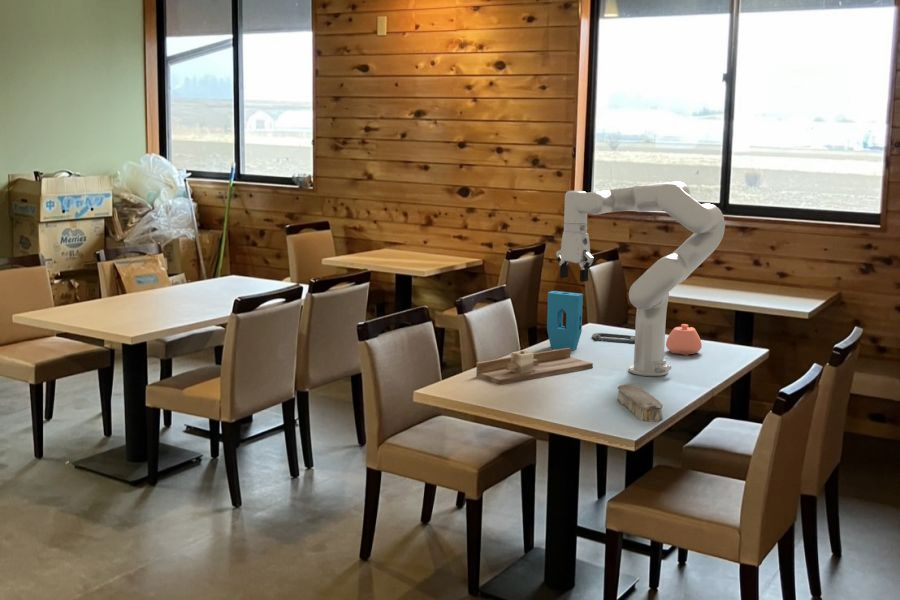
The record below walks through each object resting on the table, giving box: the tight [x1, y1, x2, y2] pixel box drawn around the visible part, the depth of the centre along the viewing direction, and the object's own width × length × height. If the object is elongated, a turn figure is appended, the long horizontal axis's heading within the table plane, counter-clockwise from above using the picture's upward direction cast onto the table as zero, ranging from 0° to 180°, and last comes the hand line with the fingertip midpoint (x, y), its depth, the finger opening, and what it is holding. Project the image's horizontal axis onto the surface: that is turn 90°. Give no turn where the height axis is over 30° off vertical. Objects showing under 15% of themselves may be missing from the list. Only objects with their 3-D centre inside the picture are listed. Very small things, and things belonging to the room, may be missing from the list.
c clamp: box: [591, 332, 635, 345], centre depth 365 cm, size 20×17×3 cm
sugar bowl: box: [665, 323, 703, 357], centre depth 346 cm, size 12×14×10 cm
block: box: [546, 290, 584, 351], centre depth 350 cm, size 12×5×20 cm, turn 59°
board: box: [476, 348, 594, 385], centre depth 317 cm, size 12×39×4 cm, turn 125°
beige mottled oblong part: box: [616, 384, 664, 423], centre depth 276 cm, size 24×8×5 cm, turn 10°
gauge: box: [506, 350, 539, 374], centre depth 311 cm, size 5×12×7 cm, turn 125°
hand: (573, 279), depth 326 cm, fingers open, 9 cm apart
